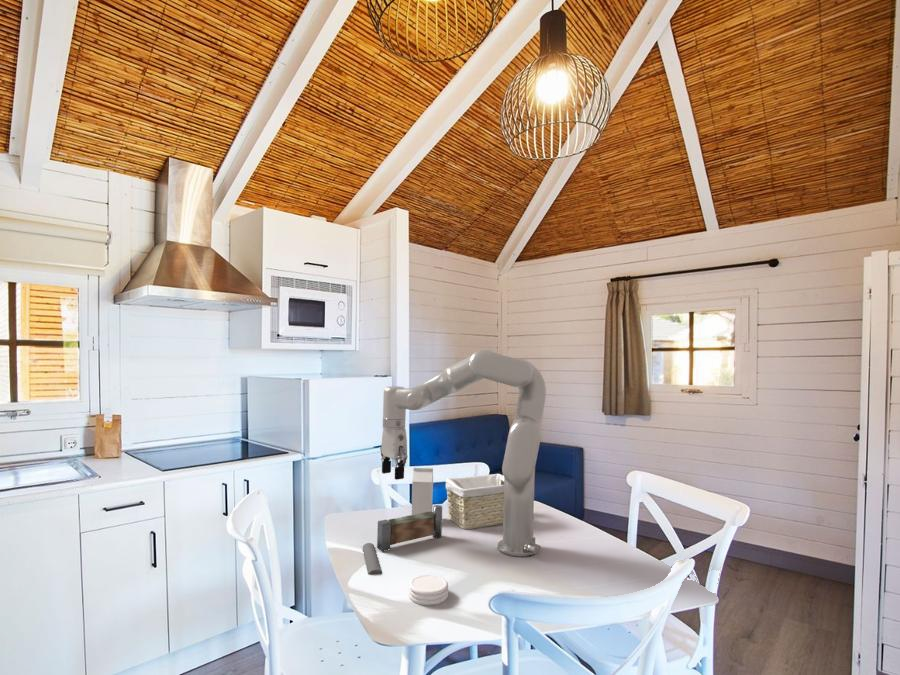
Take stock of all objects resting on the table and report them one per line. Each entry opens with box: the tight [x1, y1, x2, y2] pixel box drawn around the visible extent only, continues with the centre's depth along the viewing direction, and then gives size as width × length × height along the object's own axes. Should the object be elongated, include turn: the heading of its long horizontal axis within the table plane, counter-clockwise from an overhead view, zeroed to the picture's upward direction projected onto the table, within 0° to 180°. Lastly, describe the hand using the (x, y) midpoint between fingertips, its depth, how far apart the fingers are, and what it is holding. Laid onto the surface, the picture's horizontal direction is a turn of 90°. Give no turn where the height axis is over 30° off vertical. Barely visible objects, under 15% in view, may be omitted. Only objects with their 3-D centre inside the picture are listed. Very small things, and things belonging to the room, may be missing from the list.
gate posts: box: [376, 504, 443, 552], centre depth 161 cm, size 3×23×10 cm, turn 125°
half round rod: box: [362, 542, 383, 575], centre depth 148 cm, size 4×20×2 cm, turn 15°
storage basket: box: [445, 473, 504, 530], centre depth 184 cm, size 24×16×15 cm
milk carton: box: [411, 467, 434, 515], centre depth 182 cm, size 7×7×19 cm
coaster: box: [408, 574, 449, 606], centre depth 127 cm, size 10×10×4 cm
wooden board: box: [388, 510, 434, 546], centre depth 161 cm, size 16×2×7 cm, turn 125°
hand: (392, 475), depth 166 cm, fingers open, 8 cm apart
